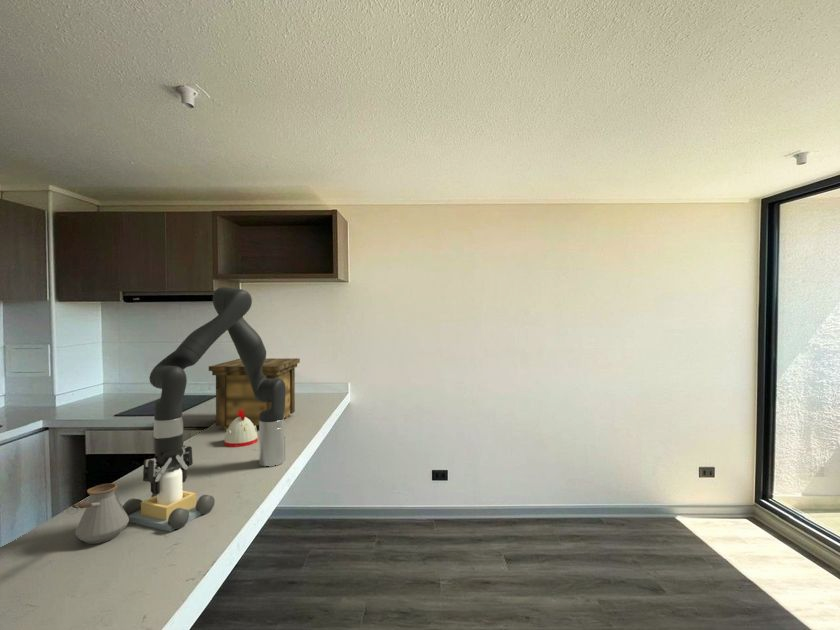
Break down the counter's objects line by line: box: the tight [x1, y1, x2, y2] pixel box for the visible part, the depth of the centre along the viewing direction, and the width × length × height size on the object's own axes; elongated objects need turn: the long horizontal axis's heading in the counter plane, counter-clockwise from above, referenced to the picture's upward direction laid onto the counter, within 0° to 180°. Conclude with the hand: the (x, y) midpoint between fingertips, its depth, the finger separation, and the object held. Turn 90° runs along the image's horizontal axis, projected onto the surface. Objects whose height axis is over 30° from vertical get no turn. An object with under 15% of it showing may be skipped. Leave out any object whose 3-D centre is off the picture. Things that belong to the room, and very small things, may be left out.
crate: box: [208, 357, 301, 430], centre depth 227 cm, size 35×35×33 cm
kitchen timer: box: [224, 409, 259, 448], centre depth 193 cm, size 14×14×15 cm
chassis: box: [122, 490, 216, 532], centre depth 124 cm, size 14×20×5 cm
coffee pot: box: [66, 483, 130, 545], centre depth 107 cm, size 21×12×15 cm, turn 16°
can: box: [157, 465, 184, 506], centre depth 124 cm, size 6×6×12 cm
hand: (169, 487), depth 124 cm, fingers open, 8 cm apart
